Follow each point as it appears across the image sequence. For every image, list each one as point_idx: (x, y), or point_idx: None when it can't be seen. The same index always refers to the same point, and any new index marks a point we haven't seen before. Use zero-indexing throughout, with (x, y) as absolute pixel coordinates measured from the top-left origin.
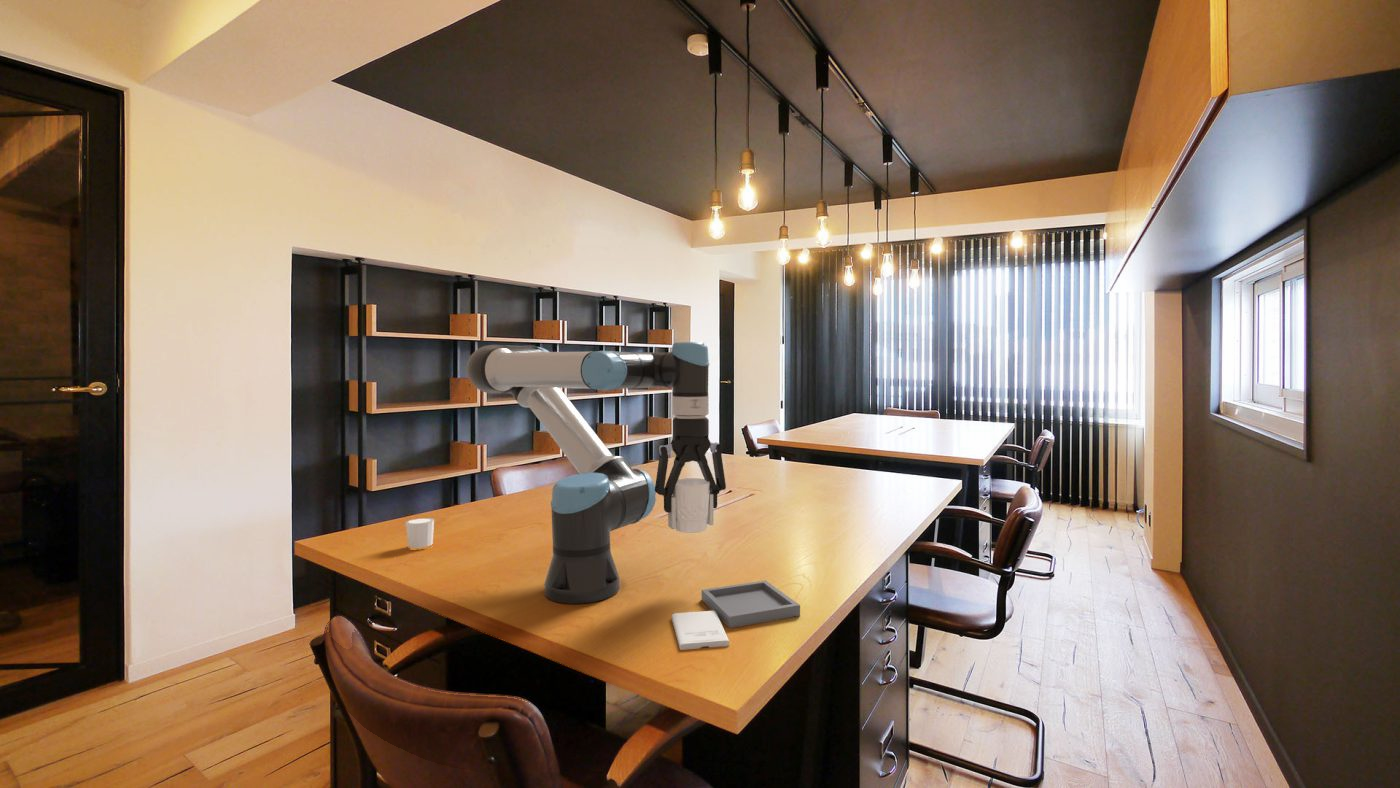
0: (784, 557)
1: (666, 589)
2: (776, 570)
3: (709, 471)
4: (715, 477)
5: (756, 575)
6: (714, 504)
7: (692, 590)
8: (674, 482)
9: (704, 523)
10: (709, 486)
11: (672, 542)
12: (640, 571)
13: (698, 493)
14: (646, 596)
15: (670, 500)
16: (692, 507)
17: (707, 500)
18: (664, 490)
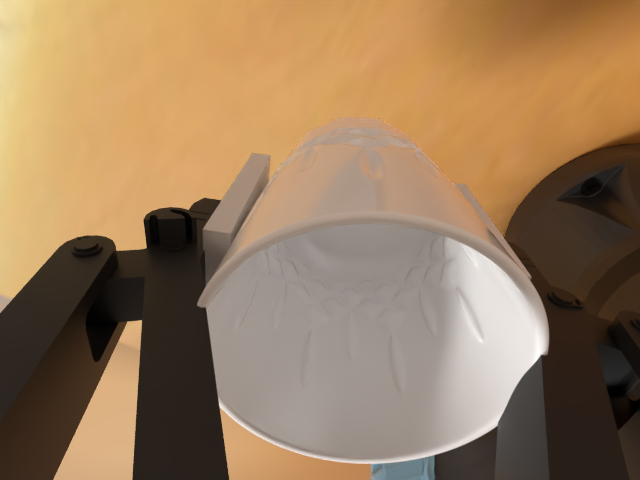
0: (9, 188)
1: (424, 132)
2: (63, 105)
3: (155, 393)
4: (99, 376)
5: (138, 98)
6: (209, 210)
7: (366, 85)
8: (566, 368)
9: (316, 134)
10: (222, 259)
11: None
12: None
13: (382, 180)
14: (501, 112)
15: None
16: (414, 156)
17: (279, 180)
18: (603, 340)
